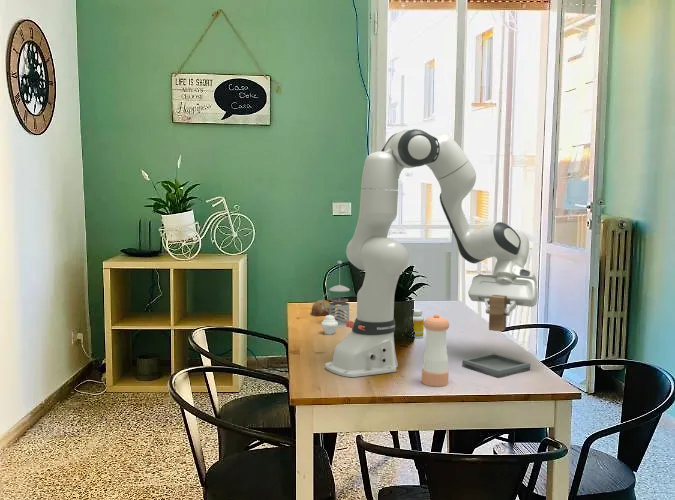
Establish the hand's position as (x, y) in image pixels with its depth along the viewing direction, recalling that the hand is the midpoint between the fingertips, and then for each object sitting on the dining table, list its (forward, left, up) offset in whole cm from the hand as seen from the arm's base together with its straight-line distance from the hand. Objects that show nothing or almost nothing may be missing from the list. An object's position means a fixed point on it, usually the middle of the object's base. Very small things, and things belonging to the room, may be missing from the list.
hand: (497, 313), depth 193 cm
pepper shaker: (-25, 0, -17) cm, 30 cm away
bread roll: (+2, +94, -17) cm, 96 cm away
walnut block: (+1, 0, -5) cm, 5 cm away
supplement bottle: (+7, +43, -17) cm, 47 cm away
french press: (-5, +75, -17) cm, 77 cm away
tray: (0, 0, -17) cm, 17 cm away
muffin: (-16, +64, -17) cm, 68 cm away
